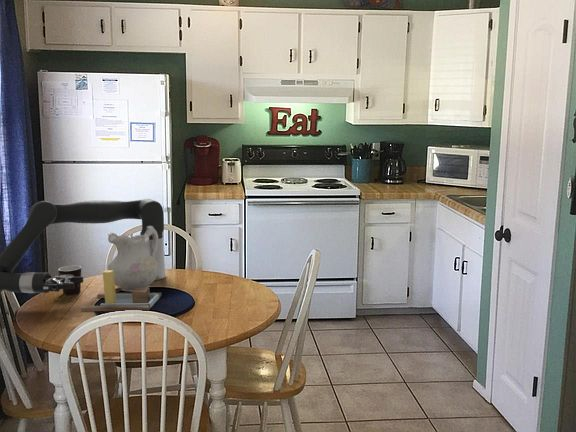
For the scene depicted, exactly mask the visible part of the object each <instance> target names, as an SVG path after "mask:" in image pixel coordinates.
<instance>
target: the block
mask: <svg viewBox="0 0 576 432" xmlns="http://www.w3.org/2000/svg"><path fill="white" fill-rule="evenodd" d="M131 293H132V300H133V303H149V301H150V293H151V292H150V287H149V288H135V289H134V290H133V291H132V292H131Z"/></svg>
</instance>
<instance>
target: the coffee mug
mask: <svg viewBox="0 0 576 432" xmlns="http://www.w3.org/2000/svg"><path fill="white" fill-rule="evenodd" d="M57 270H58V275H74V277H82V266H81V265H66V266H62V267H59V268H58V269H57ZM68 280H70V278H68ZM64 283H65V282H64ZM81 284H82V283H74V289H63V290H62V292H63V293H62V294H63V295H64V294H65V295H64V296H75V294H76V295H79V294H81V286H82V285H81Z"/></svg>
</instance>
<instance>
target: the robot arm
mask: <svg viewBox="0 0 576 432" xmlns="http://www.w3.org/2000/svg"><path fill="white" fill-rule="evenodd" d="M28 216H29V218H28V219H27V222H26V223H25V225H24V226H23V227H22V229H21V230H20V231H19V232H18V234H16V236H14V237H13V239H12V240H11V241H10V242H9V243H8V244H7V246H6V247H5V249H4V250H3V251H2V253H1V254H0V293H2V292H3V291H7V292H9V293H24V294H25V293H26V294H47V293H48V294H49V292H57V293H58V292H61V291H63V289H74V283H81V284H83V283H84V277H83V276H81V277H74V275H59V274H57V275H56V276H53V277H52V275H51V274H50V273H49V272H40V271H39V272H33V271H32V272H23V273H22V272H16V273H15V272H14V270H15V268H17V266H19V264H20V262H21V261H22V259H23V258H24V257H25V255H26V254H27V252H28V251H29V249H30V248H31V246H32V245H33V243H35V241H36V239H38V237H39V236H40V235H41V234H42V233H43V231H44V230H45V229H46V228H48V227H49V226H50V225H56V224H63V223H64V224H65V223H74V224H91V225H92V224H107V223H113V222H117V221H121V220H128V219H129V220H140V221H141V231H140V233H139V235H144V234H145V232H146V227H147V226H151V225H152V226H153V228H154V229H155V230H156V231H157V234H158V247H157V251H156V253H155V259H156V261H157V262H158V266H159V271H158V275H157V277H156V279H155V280H154V281H157V280H162V279H165V278H166V264H165V263H166V262H165V250H164V249H165V248H164V247H165V245H164V236H163V235H164V231H165V218H164V208H163V206H162V204H161V203H160V202H158V201H156V200H155V199H152V198H144V199H137V200H129V201H127V200H125V201H121V200H108V199H107V200H103V199H99V200H84V201H78V202H72V203H53V202H51V201H47V200H41V201H37V202H35V203H34V204H33V205H32V206H31V208H30V209H29V212H28ZM152 246H153V236H152V235H151V236H149V242H148V244H147V252H148V254H149V255H151V250H152ZM68 278H70V280H68ZM64 282H65V283H64Z"/></svg>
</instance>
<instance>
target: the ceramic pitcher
mask: <svg viewBox="0 0 576 432" xmlns="http://www.w3.org/2000/svg"><path fill="white" fill-rule="evenodd" d="M151 235H152V236H153V246H152V250H151V255H149V254H148V252H147V244H148V242H149V236H151ZM107 237H108V238H107V241H108V242H109V243H110V244H113V245H115V248H116V250H117V255H116V256H115V257H114V258H113V259H112V260H111V261H110V262H109V263H108V265H107V270H114V281H115V287H119V288H120V290H121V291H123V292H127V293H132V291H133V290H134V289H135V288H149V289H150V287H149V285H152V284H153V282H155V281H156V280H155V279H156V277H157V275H158V271H159V266H158V262H157V261H156V259H155V253H156V251H157V247H158V234H157V231H156V230H155V229H154V228H153V226H152V225H151V226H147V227H146V232H145V234H144V235H140V234H137V235H134V236H127V235H126V234H121V235H118V234H117V233H114V232H110V233H108V234H107Z"/></svg>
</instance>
